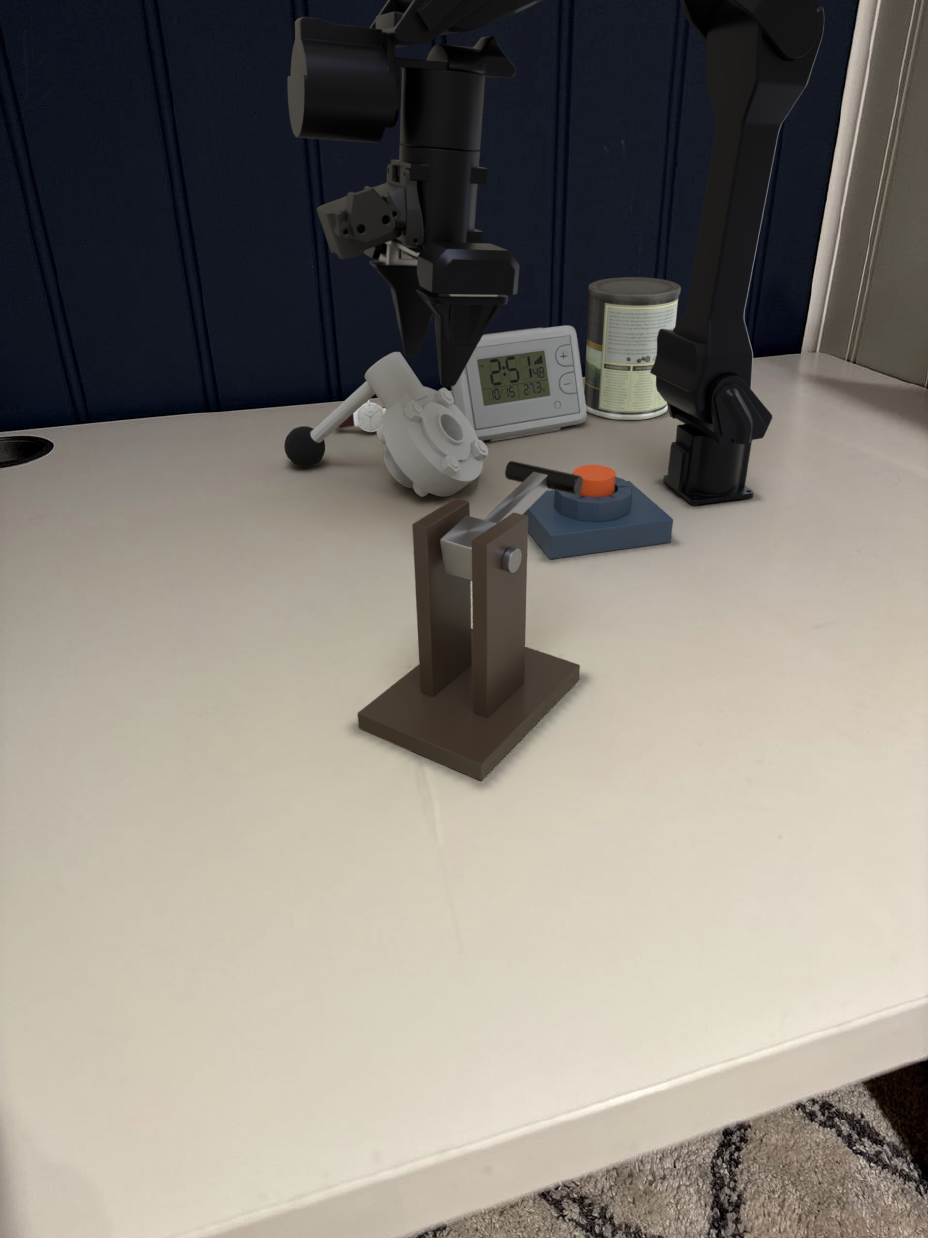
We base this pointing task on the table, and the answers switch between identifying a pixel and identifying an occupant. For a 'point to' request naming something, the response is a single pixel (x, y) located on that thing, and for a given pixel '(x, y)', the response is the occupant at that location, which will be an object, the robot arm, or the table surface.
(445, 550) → the tap lever
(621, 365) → the coffee can
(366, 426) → the watch
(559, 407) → the digital clock
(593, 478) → the button
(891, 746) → the table surface
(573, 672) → the bracket
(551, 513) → the button housing
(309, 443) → the mechanical valve
